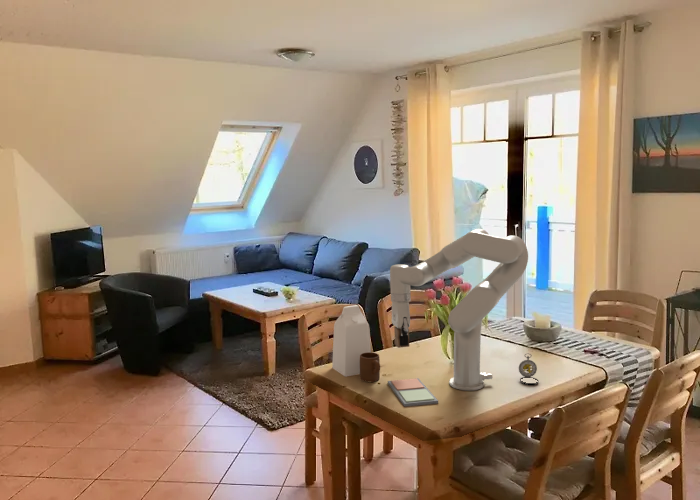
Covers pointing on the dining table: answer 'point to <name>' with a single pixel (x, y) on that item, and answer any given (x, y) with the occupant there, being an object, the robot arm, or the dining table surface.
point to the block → (397, 337)
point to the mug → (369, 367)
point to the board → (412, 392)
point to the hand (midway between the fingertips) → (402, 343)
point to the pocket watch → (527, 369)
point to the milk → (350, 341)
